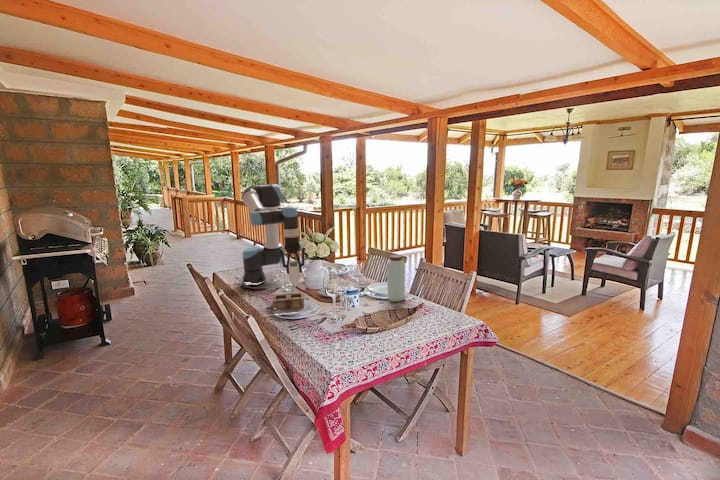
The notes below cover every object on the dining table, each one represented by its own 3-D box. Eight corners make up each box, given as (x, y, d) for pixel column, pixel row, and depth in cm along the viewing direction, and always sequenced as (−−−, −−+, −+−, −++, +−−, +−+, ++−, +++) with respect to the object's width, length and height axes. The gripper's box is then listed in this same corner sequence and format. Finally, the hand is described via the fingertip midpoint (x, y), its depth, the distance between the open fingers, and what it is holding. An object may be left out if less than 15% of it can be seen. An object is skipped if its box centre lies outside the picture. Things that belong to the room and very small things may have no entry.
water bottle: (384, 301, 198) (384, 257, 192) (390, 294, 207) (389, 253, 201) (402, 303, 194) (402, 259, 188) (407, 296, 203) (406, 254, 198)
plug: (291, 282, 193) (289, 261, 190) (298, 281, 193) (297, 260, 191) (291, 284, 189) (289, 263, 186) (298, 284, 189) (297, 262, 187)
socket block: (274, 304, 197) (274, 294, 196) (304, 302, 199) (303, 291, 198) (273, 312, 187) (272, 301, 186) (304, 309, 190) (303, 298, 188)
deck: (289, 296, 209) (289, 294, 209) (306, 295, 210) (306, 293, 210) (288, 302, 199) (288, 301, 199) (306, 301, 201) (306, 299, 200)
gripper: (274, 238, 181) (278, 282, 186) (308, 236, 183) (310, 279, 188) (275, 235, 188) (279, 278, 193) (307, 233, 191) (310, 275, 195)
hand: (294, 278), depth 190 cm, fingers closed on plug, 4 cm apart
